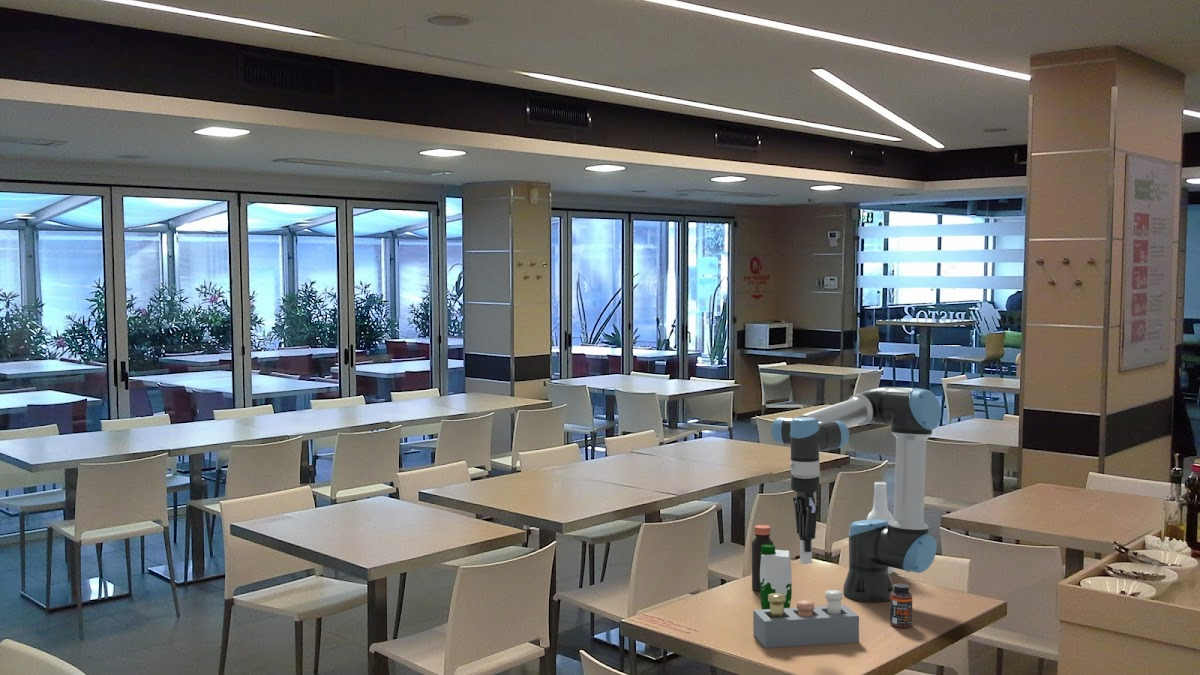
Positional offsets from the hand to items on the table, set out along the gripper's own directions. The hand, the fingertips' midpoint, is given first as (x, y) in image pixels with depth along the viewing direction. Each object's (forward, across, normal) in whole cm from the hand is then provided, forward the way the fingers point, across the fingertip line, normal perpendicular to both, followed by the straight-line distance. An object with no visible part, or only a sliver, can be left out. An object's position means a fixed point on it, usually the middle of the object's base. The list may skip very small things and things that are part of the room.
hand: (806, 562), depth 270 cm
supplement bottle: (+21, -6, +30) cm, 37 cm away
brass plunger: (+16, 0, -8) cm, 18 cm away
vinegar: (+21, -47, +2) cm, 51 cm away
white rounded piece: (+16, 0, +8) cm, 18 cm away
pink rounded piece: (+18, 0, 0) cm, 18 cm away
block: (+21, 0, 0) cm, 21 cm away
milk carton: (+21, -22, -2) cm, 30 cm away
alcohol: (+22, -60, +48) cm, 79 cm away
